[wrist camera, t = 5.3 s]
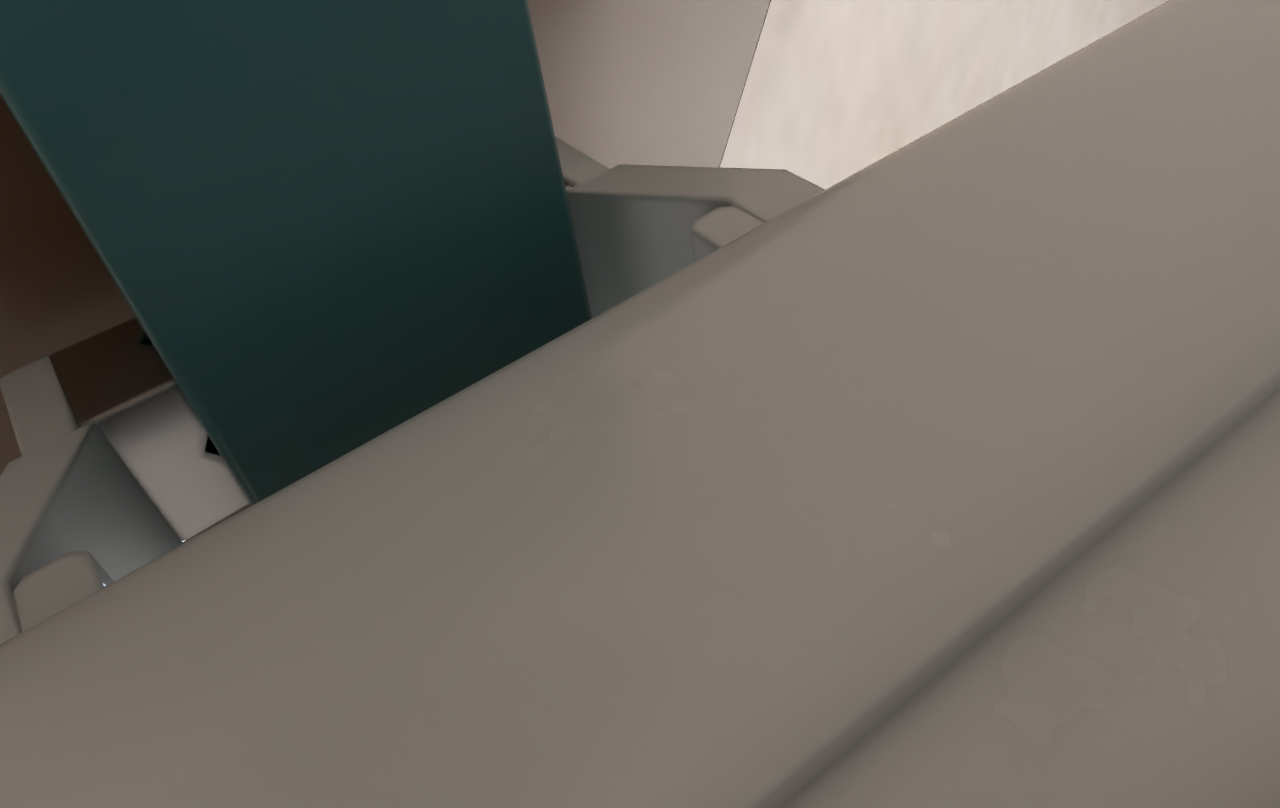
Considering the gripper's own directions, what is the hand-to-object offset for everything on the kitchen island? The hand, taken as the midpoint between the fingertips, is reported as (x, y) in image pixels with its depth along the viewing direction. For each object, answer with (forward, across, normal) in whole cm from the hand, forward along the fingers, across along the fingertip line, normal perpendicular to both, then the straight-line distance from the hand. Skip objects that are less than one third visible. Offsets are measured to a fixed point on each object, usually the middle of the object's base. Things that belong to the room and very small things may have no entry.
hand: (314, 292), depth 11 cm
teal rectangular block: (+2, 0, 0) cm, 2 cm away
